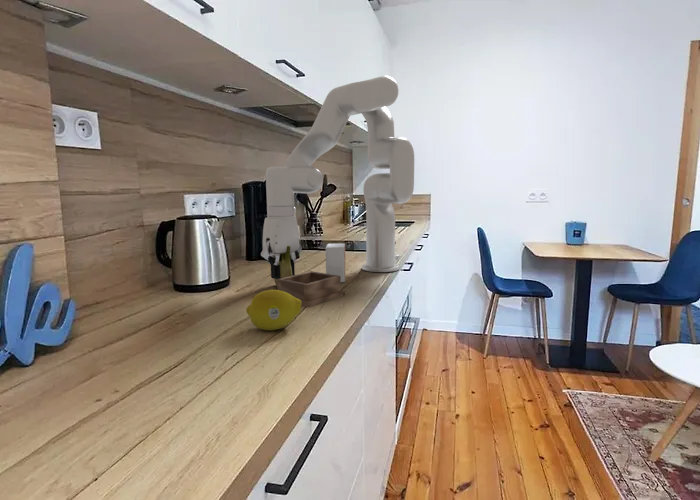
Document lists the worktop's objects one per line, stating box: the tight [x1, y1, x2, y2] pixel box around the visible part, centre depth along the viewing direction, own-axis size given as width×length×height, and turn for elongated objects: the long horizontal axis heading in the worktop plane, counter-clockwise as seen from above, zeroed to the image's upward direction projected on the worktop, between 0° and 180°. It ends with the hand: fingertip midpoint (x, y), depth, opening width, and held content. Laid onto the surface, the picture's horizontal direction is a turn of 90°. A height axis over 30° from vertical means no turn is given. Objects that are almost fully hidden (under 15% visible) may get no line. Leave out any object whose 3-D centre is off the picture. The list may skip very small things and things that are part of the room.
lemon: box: [246, 289, 302, 331], centre depth 85 cm, size 11×8×8 cm
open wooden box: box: [276, 270, 346, 308], centre depth 109 cm, size 14×12×5 cm
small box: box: [325, 243, 346, 283], centre depth 128 cm, size 8×6×10 cm
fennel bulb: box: [273, 246, 292, 286], centre depth 120 cm, size 6×5×12 cm
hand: (283, 276), depth 120 cm, fingers closed on fennel bulb, 4 cm apart
